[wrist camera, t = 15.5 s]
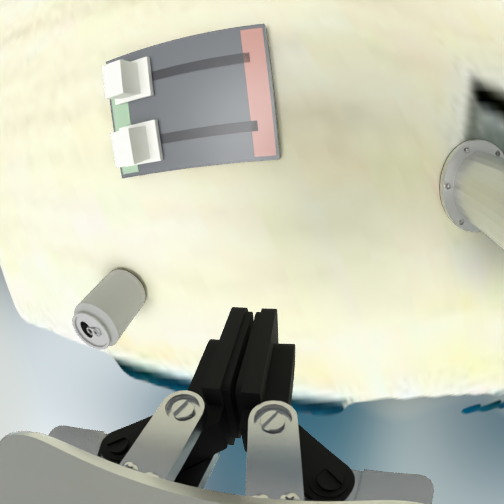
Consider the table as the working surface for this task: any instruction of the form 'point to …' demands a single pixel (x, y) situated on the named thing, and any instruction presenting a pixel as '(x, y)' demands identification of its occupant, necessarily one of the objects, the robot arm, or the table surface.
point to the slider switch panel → (207, 100)
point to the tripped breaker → (128, 80)
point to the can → (108, 309)
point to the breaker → (137, 144)
